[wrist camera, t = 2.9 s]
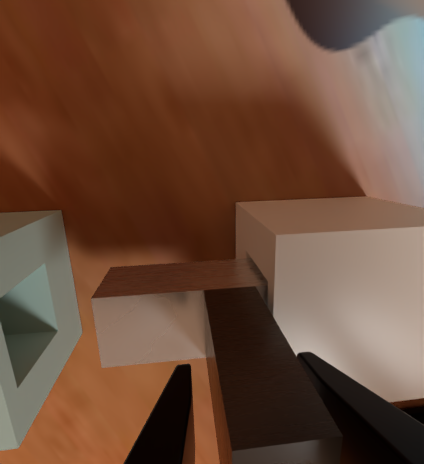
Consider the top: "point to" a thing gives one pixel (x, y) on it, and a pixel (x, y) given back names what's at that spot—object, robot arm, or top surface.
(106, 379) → the top surface
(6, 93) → the top surface
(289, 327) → the sleeve
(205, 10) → the top surface
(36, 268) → the socket block
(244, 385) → the grey bridging bar
